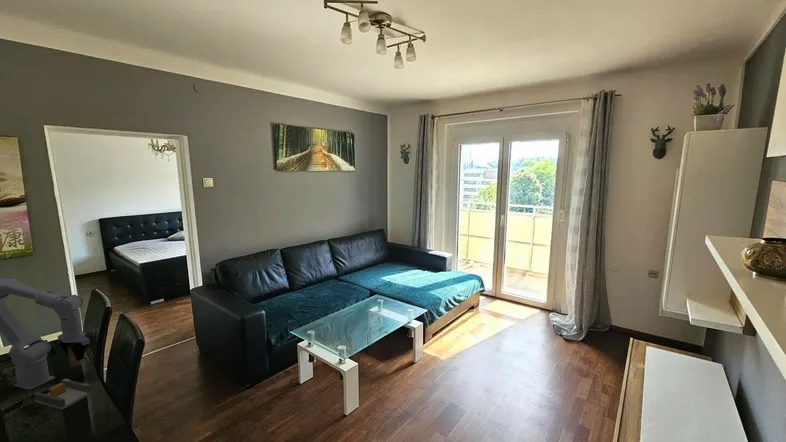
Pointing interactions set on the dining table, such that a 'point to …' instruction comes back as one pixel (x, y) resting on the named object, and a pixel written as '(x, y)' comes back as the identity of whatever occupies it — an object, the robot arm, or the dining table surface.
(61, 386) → the block
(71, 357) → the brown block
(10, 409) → the dining table surface
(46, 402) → the grey tray
